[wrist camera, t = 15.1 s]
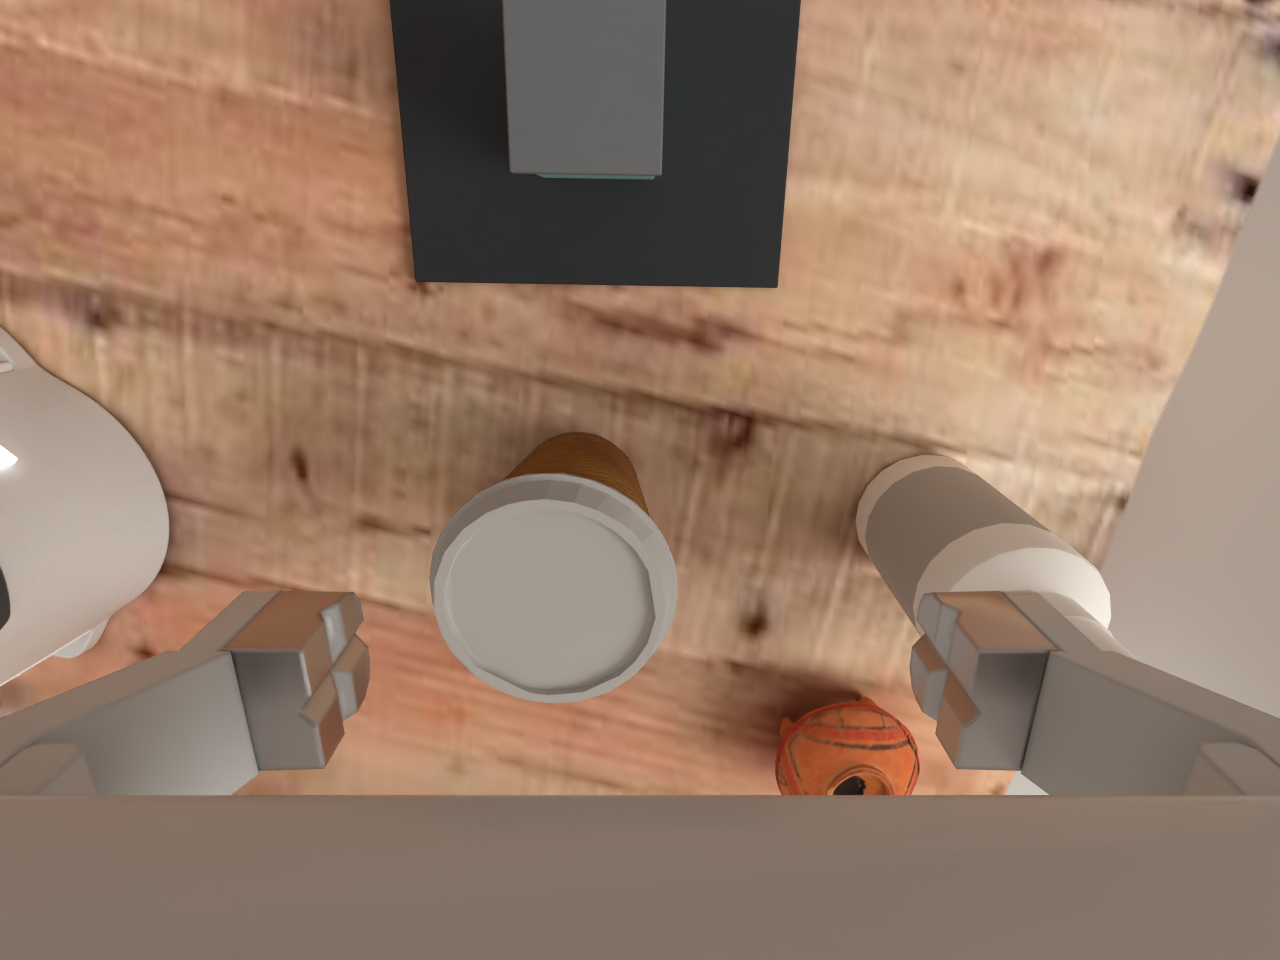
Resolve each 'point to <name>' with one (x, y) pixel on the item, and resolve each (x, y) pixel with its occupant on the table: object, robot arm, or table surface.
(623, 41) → the green block grey end
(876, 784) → the pot
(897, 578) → the spray bottle
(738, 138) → the mat
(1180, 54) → the table surface
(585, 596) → the disposable coffee cup
